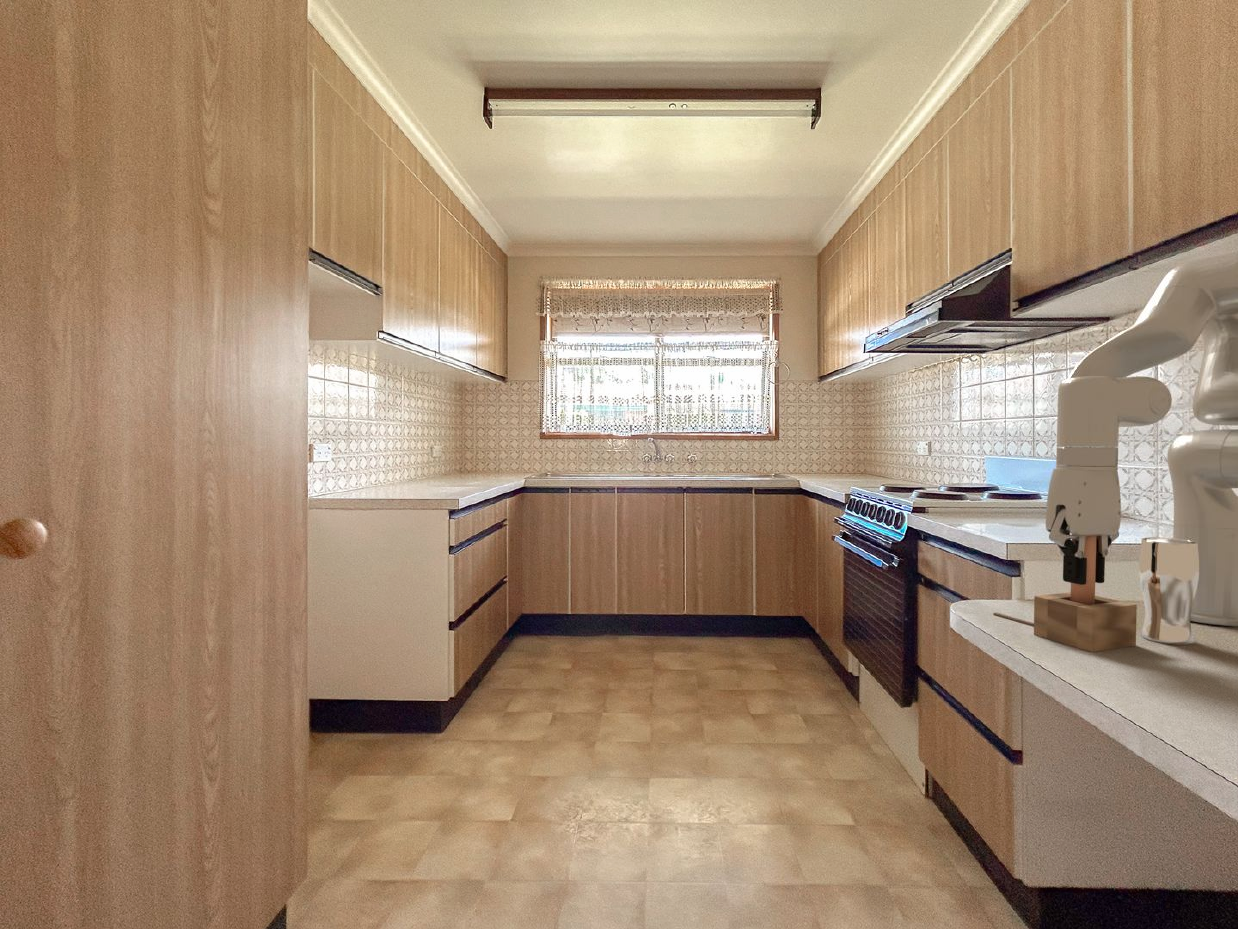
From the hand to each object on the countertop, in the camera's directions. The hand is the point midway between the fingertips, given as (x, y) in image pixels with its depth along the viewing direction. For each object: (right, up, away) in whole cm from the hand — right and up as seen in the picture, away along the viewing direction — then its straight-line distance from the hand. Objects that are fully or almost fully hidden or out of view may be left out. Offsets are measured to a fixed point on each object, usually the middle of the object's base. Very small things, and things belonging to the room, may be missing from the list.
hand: (1083, 581), depth 99 cm
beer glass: (+13, -9, 0) cm, 16 cm away
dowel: (0, -4, 0) cm, 4 cm away
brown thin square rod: (-3, -9, +10) cm, 14 cm away
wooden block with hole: (0, -9, 0) cm, 9 cm away
